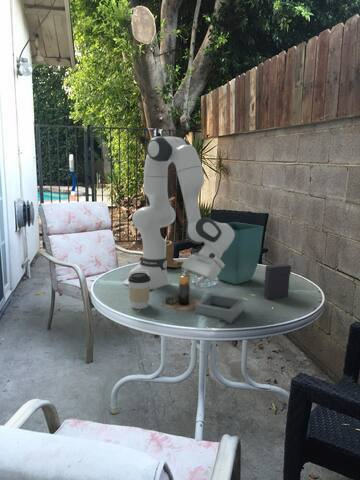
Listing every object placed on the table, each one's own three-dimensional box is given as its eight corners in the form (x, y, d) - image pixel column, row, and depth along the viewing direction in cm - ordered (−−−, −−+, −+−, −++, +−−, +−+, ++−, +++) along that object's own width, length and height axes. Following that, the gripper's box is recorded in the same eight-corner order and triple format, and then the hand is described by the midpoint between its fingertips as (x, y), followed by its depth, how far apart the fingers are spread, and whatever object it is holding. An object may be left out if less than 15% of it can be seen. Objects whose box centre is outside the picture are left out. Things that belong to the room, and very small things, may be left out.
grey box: (283, 294, 189) (285, 263, 186) (289, 297, 185) (291, 265, 182) (262, 297, 185) (264, 265, 182) (268, 300, 181) (270, 267, 178)
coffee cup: (124, 308, 169) (123, 273, 166) (141, 303, 175) (140, 269, 172) (137, 314, 162) (137, 278, 160) (155, 309, 169) (155, 274, 166)
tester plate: (161, 309, 169) (161, 298, 168) (176, 299, 181) (176, 289, 180) (192, 315, 163) (192, 304, 162) (206, 304, 175) (206, 294, 174)
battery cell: (177, 304, 171) (177, 274, 168) (181, 301, 174) (182, 272, 172) (186, 306, 169) (187, 276, 166) (191, 302, 172) (191, 273, 170)
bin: (195, 316, 161) (195, 304, 160) (209, 304, 175) (210, 293, 174) (231, 323, 155) (231, 311, 154) (243, 311, 168) (244, 299, 167)
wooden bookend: (151, 267, 233) (151, 242, 230) (159, 263, 243) (159, 238, 241) (176, 270, 227) (176, 244, 224) (183, 265, 238) (184, 240, 235)
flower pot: (206, 279, 212) (208, 225, 207) (232, 272, 226) (234, 221, 220) (235, 288, 198) (238, 230, 192) (261, 280, 211) (264, 226, 205)
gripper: (190, 248, 181) (171, 272, 178) (219, 257, 164) (199, 284, 161) (198, 256, 184) (179, 280, 181) (227, 266, 168) (207, 293, 164)
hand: (189, 282), depth 171 cm, fingers open, 8 cm apart
